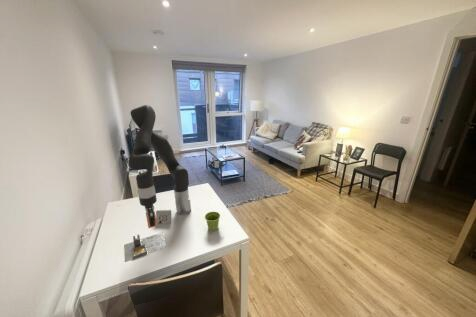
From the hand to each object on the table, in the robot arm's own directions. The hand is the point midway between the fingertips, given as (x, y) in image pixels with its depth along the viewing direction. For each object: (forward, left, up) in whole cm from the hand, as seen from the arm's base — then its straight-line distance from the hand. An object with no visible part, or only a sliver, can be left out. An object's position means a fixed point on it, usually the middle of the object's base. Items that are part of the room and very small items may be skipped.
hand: (152, 223), depth 101 cm
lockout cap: (0, 0, -1) cm, 1 cm away
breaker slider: (+8, -6, -15) cm, 18 cm away
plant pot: (-33, 0, -17) cm, 37 cm away
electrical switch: (-8, -20, -17) cm, 28 cm away
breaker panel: (+5, -3, -17) cm, 18 cm away
